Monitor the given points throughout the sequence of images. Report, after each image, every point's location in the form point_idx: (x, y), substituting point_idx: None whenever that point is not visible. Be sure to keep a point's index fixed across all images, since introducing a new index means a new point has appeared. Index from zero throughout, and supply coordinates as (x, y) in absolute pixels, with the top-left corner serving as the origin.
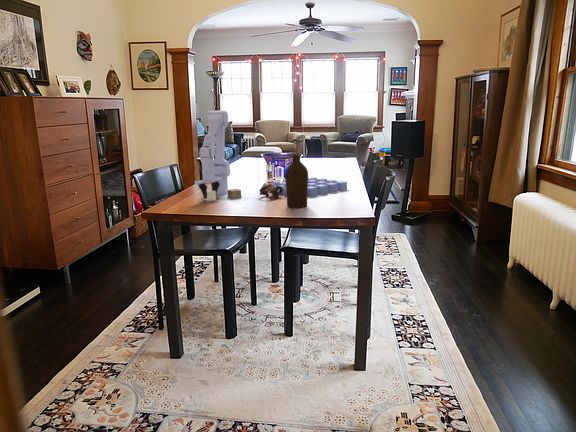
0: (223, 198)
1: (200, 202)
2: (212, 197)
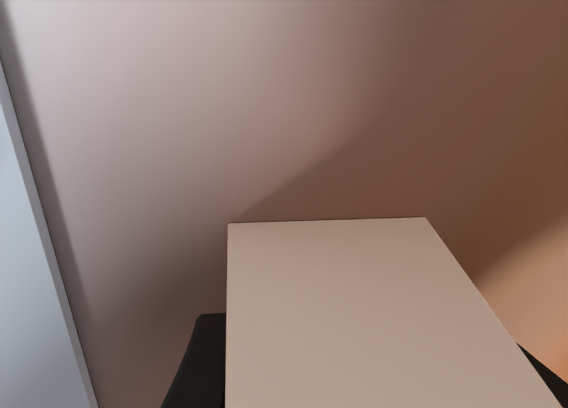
0: (15, 244)
1: (551, 256)
2: (329, 274)
